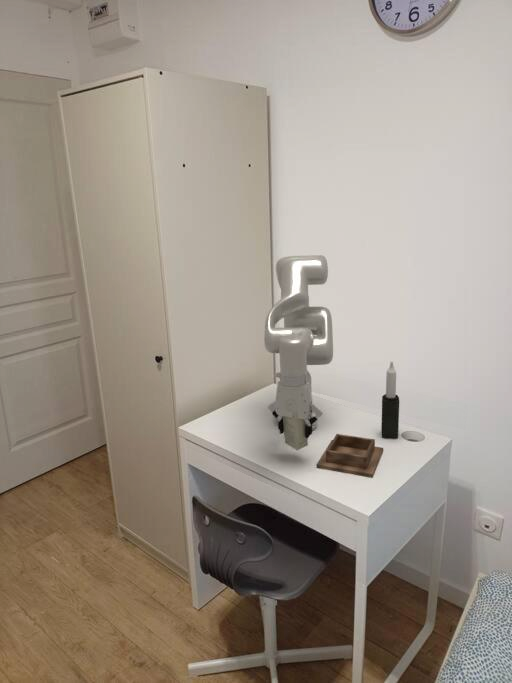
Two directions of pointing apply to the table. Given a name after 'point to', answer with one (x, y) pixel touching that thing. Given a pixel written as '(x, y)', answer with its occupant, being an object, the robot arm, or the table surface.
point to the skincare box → (294, 432)
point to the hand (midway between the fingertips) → (295, 433)
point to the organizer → (351, 455)
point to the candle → (390, 406)
